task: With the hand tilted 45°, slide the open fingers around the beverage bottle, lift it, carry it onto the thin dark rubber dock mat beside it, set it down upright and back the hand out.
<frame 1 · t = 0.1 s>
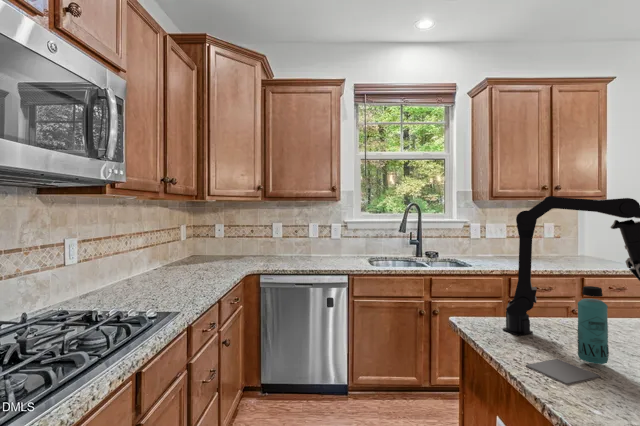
beverage bottle: (593, 365, 94), on the countertop
dock mat: (561, 371, 91), on the countertop
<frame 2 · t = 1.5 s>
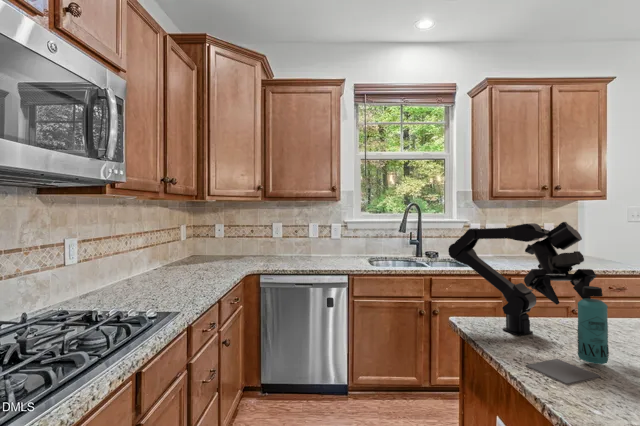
hand: (573, 303, 102), 14 cm above the countertop, tool tilted 45°, fingers open, 9 cm apart
nothing on the countertop moved.
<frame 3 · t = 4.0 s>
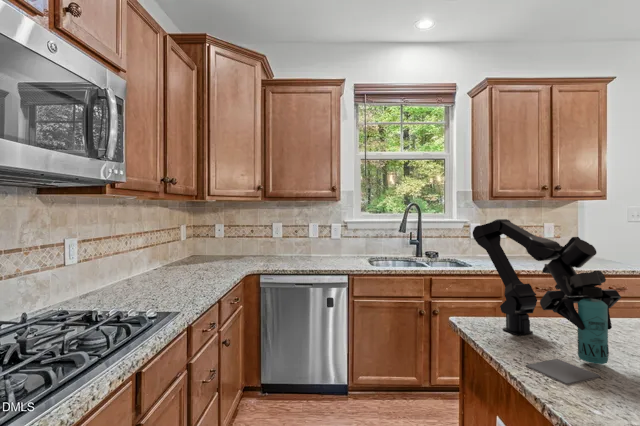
hand: (596, 329, 93), 10 cm above the countertop, tool tilted 45°, fingers closed on beverage bottle, 6 cm apart
beverage bottle: (593, 365, 94), on the countertop, touching gripper
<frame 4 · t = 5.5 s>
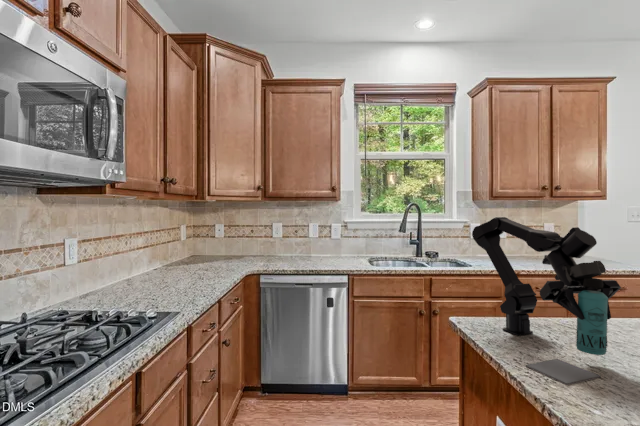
hand: (596, 318, 93), 12 cm above the countertop, tool tilted 45°, fingers closed on beverage bottle, 6 cm apart
beverage bottle: (591, 357, 94), point 2 cm above the countertop, touching gripper
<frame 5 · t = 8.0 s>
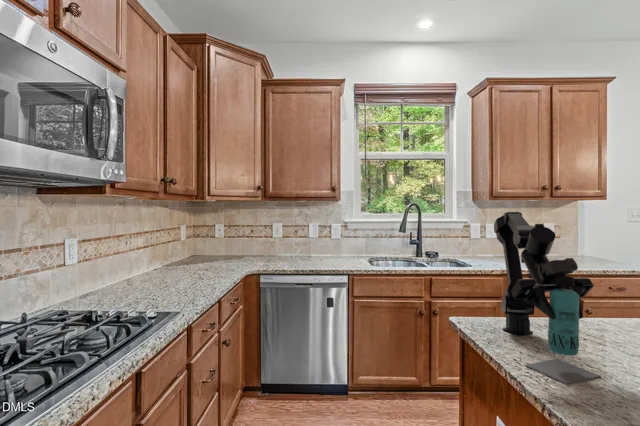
hand: (567, 318, 90), 13 cm above the countertop, tool tilted 45°, fingers closed on beverage bottle, 6 cm apart
beverage bottle: (563, 358, 91), point 3 cm above the countertop, touching gripper
when the fingers open (10 cm above the countertop, at t = 10.8 s): beverage bottle stays where it is, resting on dock mat.
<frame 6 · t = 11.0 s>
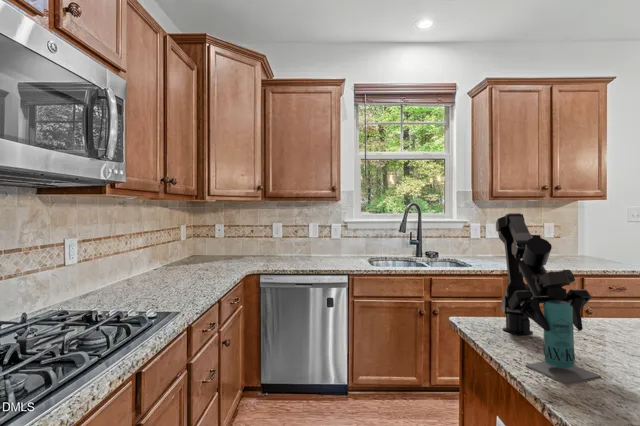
hand: (564, 330, 89), 11 cm above the countertop, tool tilted 45°, fingers open, 8 cm apart
beverage bottle: (560, 370, 91), resting on dock mat
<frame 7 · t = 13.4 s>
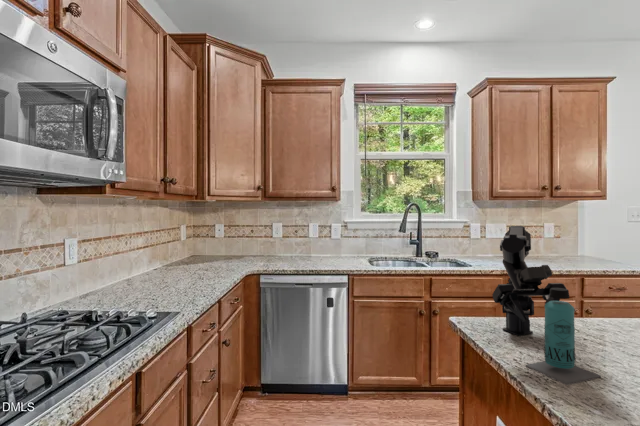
hand: (542, 320, 98), 10 cm above the countertop, tool tilted 45°, fingers open, 9 cm apart
nothing on the countertop moved.
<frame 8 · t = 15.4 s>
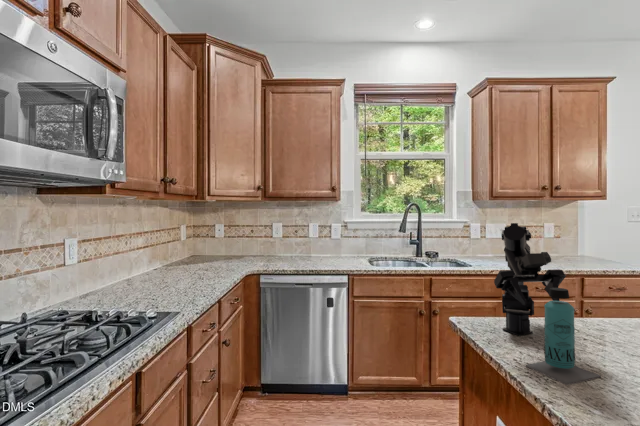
hand: (542, 304, 103), 14 cm above the countertop, tool tilted 45°, fingers open, 9 cm apart
nothing on the countertop moved.
at the end: beverage bottle inside the target area on the dock mat (0.4 cm from its centre), point 0.2 cm above the dock mat's base; beverage bottle tilted 0°; the gripper is holding nothing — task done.
